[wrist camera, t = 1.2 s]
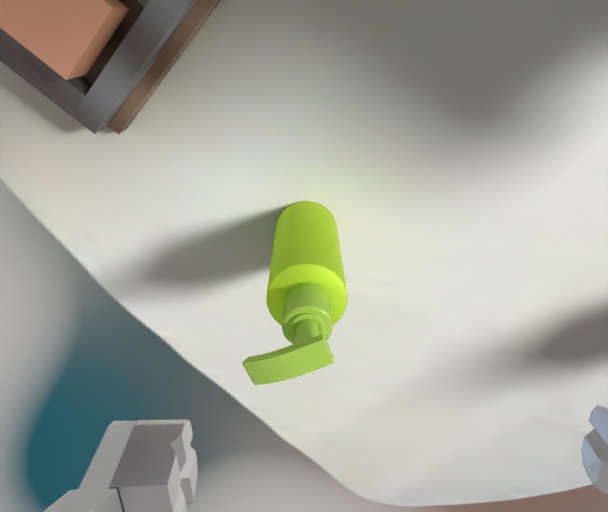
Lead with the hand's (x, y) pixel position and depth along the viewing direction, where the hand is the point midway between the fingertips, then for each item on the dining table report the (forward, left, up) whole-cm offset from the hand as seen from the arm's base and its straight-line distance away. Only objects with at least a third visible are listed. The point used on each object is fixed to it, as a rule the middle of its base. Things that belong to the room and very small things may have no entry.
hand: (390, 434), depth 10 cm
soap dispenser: (+9, +6, -36) cm, 38 cm away
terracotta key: (+6, -19, -32) cm, 38 cm away
